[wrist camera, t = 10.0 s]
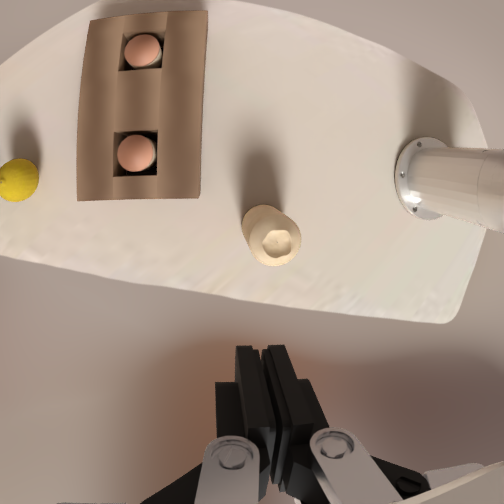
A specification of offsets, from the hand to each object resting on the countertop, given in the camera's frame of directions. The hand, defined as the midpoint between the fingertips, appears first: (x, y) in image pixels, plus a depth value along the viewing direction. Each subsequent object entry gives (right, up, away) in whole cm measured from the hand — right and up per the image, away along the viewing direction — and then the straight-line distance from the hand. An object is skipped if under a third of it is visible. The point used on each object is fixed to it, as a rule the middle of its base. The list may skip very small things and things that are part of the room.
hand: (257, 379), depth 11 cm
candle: (+1, +8, +31) cm, 32 cm away
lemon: (-30, +15, +25) cm, 42 cm away
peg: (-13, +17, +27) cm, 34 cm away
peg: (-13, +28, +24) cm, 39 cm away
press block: (-13, +22, +25) cm, 36 cm away
